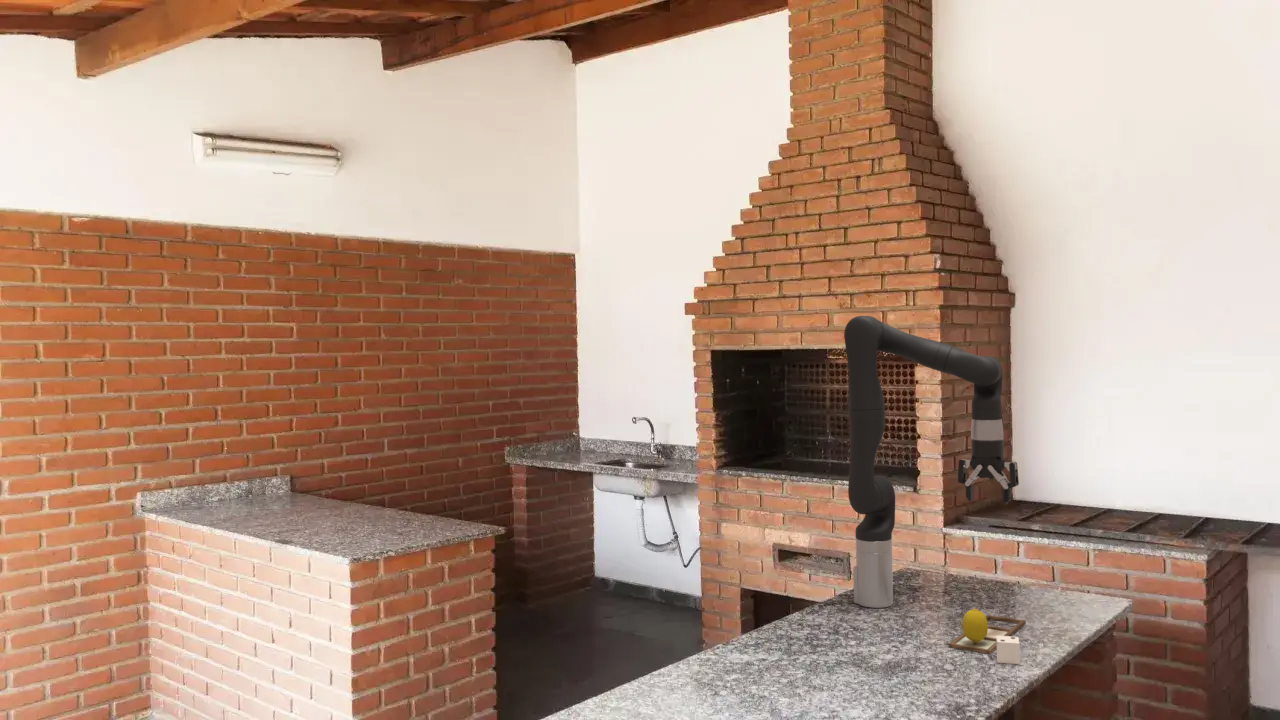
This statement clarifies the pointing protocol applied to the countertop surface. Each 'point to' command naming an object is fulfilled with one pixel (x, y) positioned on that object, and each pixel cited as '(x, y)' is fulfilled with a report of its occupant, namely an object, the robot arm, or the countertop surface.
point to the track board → (987, 636)
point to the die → (1008, 649)
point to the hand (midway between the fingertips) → (988, 502)
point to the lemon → (975, 625)
